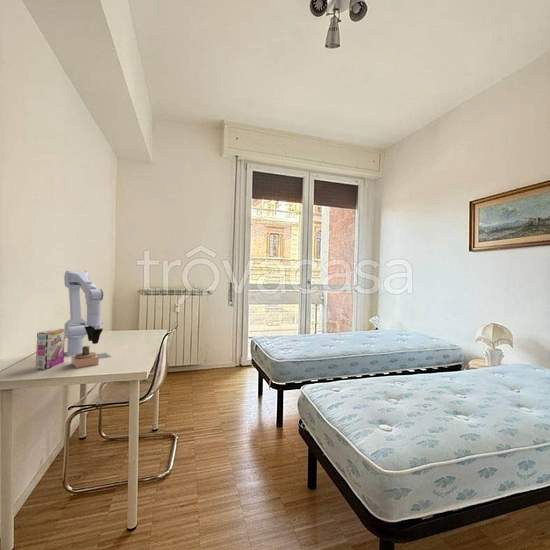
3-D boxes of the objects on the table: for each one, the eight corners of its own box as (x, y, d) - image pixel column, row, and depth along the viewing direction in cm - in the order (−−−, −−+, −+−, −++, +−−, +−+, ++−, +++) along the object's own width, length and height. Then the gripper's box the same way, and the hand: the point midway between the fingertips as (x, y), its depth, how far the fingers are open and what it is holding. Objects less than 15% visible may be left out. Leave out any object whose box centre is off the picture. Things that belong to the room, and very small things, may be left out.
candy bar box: (46, 370, 132) (47, 332, 132) (35, 369, 132) (36, 332, 132) (64, 362, 143) (65, 328, 143) (54, 362, 144) (55, 328, 144)
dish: (71, 364, 141) (71, 356, 141) (93, 361, 147) (93, 353, 147) (75, 369, 134) (75, 360, 134) (98, 365, 140) (98, 356, 140)
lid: (72, 356, 140) (73, 346, 140) (91, 353, 146) (92, 344, 146) (79, 359, 135) (79, 349, 135) (98, 356, 141) (98, 346, 141)
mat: (84, 356, 154) (84, 356, 154) (105, 353, 161) (105, 352, 161) (89, 361, 147) (89, 360, 147) (111, 357, 154) (111, 356, 154)
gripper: (107, 314, 142) (106, 343, 142) (99, 311, 153) (98, 338, 153) (90, 316, 138) (89, 345, 138) (83, 312, 148) (82, 340, 148)
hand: (93, 342), depth 145 cm, fingers open, 7 cm apart
